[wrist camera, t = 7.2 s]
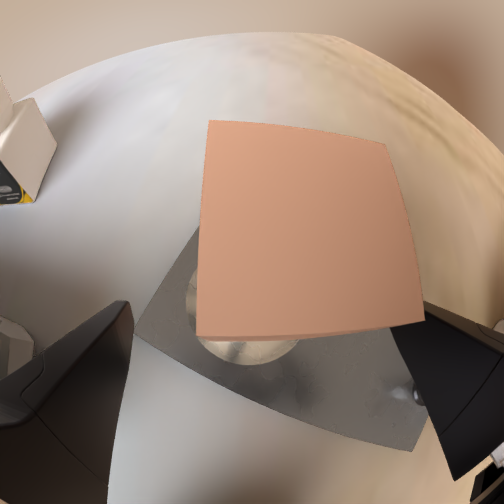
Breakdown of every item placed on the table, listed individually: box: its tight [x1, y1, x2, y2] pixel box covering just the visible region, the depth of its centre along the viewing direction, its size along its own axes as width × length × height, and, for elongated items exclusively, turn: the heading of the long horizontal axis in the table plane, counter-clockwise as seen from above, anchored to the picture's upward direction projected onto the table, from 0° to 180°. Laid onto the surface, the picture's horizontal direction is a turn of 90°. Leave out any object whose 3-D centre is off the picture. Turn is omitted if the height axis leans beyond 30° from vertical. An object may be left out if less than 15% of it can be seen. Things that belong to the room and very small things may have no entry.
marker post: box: [196, 120, 425, 342], centre depth 11 cm, size 5×5×12 cm
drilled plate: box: [134, 226, 429, 452], centre depth 17 cm, size 11×23×1 cm, turn 63°
